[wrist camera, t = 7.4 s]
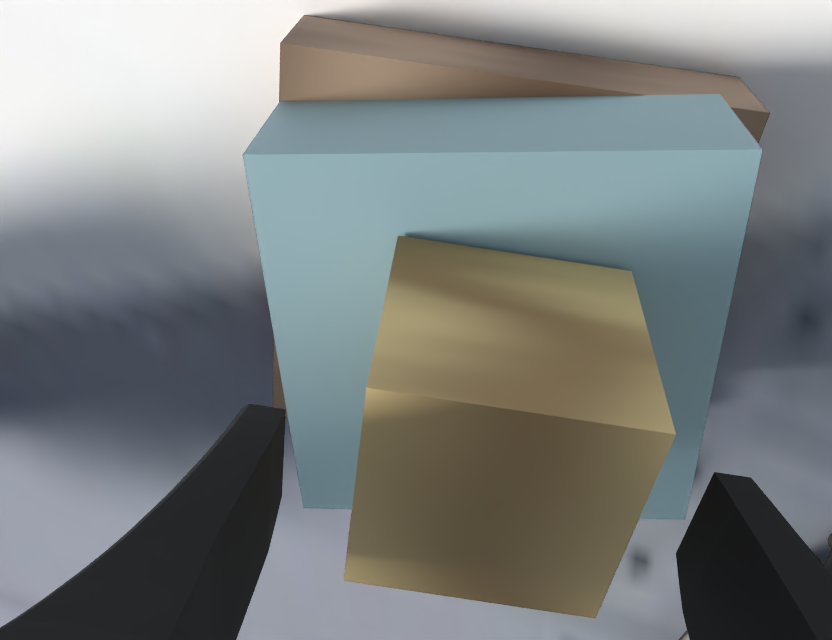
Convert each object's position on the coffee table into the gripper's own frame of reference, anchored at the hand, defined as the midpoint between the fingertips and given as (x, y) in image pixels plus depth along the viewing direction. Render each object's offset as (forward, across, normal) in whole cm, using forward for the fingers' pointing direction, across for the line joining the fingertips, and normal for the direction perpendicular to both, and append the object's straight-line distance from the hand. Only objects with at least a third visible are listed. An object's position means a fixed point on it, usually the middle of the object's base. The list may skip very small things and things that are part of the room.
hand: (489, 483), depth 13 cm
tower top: (+6, 0, 0) cm, 7 cm away
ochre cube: (+3, 0, 0) cm, 3 cm away
